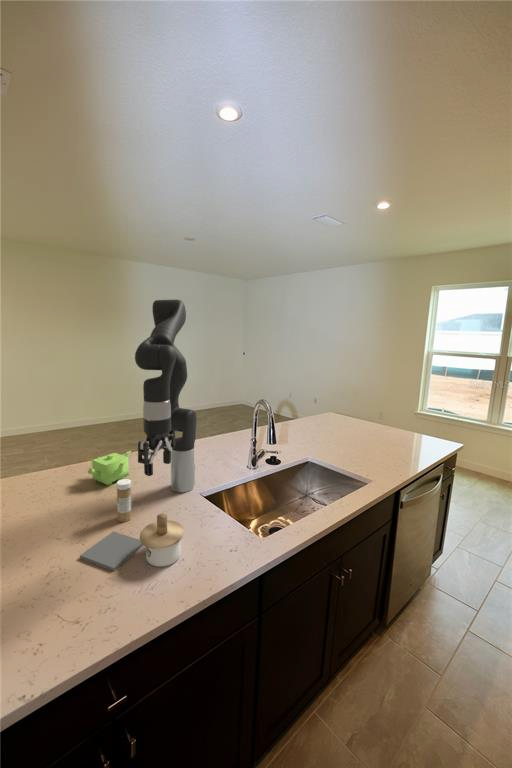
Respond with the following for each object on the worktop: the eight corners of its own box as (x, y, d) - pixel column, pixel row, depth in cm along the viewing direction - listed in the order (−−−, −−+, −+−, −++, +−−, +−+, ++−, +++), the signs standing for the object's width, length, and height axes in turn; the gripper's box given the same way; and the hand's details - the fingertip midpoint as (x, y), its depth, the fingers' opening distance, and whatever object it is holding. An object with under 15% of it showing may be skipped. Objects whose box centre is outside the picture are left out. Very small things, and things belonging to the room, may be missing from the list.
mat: (113, 534, 99) (113, 531, 99) (144, 544, 95) (144, 541, 95) (80, 558, 88) (79, 555, 88) (113, 571, 84) (113, 568, 84)
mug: (187, 558, 90) (187, 539, 89) (153, 573, 84) (153, 553, 83) (169, 537, 99) (169, 519, 98) (138, 549, 93) (138, 530, 92)
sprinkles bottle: (119, 515, 110) (118, 478, 108) (133, 514, 110) (132, 478, 108) (115, 522, 105) (114, 484, 103) (129, 522, 106) (128, 484, 104)
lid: (157, 519, 98) (157, 501, 97) (191, 528, 94) (191, 510, 94) (130, 542, 87) (130, 522, 86) (167, 553, 83) (167, 533, 82)
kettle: (131, 471, 144) (131, 448, 142) (128, 486, 130) (128, 460, 129) (95, 474, 140) (94, 449, 138) (88, 489, 126) (87, 462, 124)
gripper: (161, 408, 98) (162, 457, 100) (128, 420, 84) (130, 477, 87) (182, 411, 95) (182, 461, 98) (152, 424, 82) (153, 482, 85)
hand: (158, 469), depth 93 cm, fingers open, 8 cm apart
